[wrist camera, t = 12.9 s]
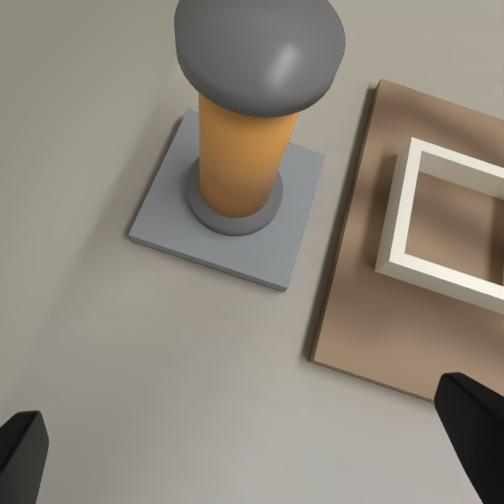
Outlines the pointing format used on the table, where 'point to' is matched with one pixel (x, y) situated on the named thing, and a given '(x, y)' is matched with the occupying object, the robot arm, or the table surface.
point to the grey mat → (221, 246)
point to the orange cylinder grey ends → (251, 98)
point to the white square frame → (399, 211)
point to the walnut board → (418, 245)
